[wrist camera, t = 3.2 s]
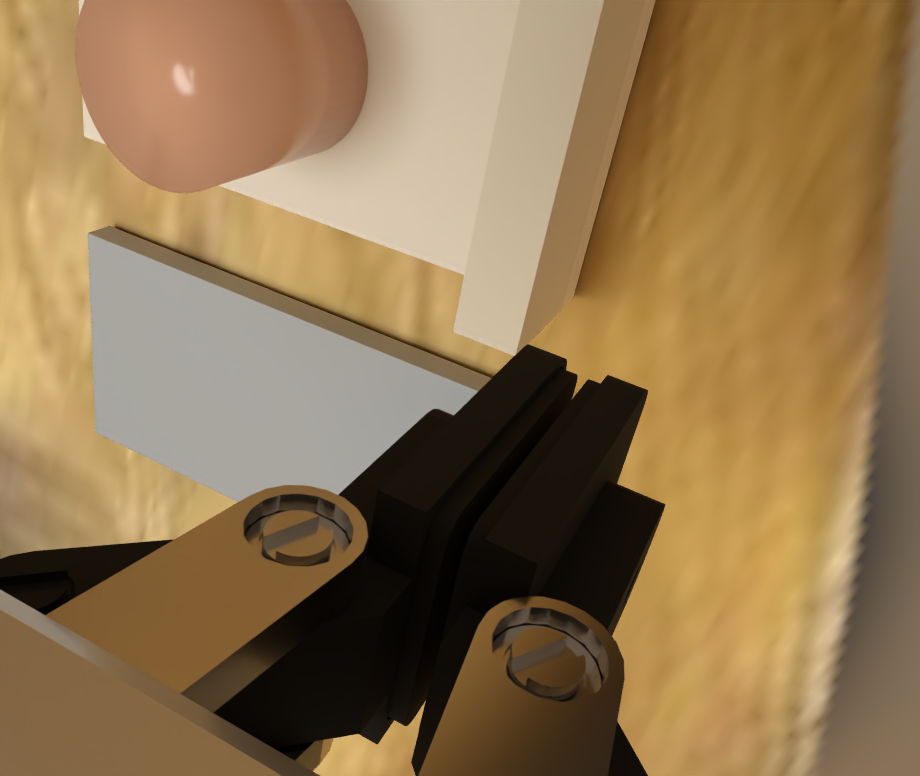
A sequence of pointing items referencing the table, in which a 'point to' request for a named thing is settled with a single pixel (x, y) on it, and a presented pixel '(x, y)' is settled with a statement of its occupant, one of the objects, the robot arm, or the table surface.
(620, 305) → the table surface
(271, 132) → the canister
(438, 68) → the strip
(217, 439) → the grey blocky piece
